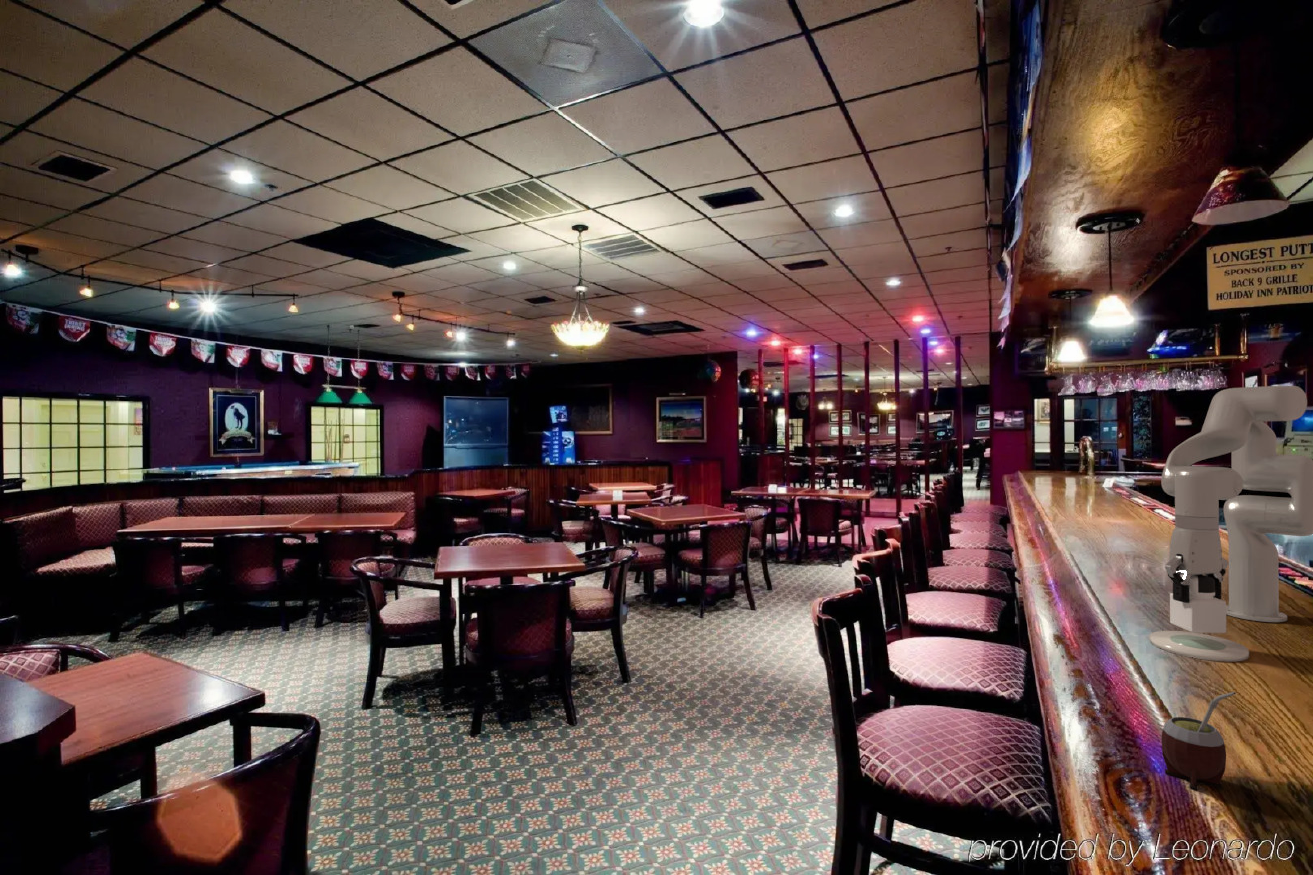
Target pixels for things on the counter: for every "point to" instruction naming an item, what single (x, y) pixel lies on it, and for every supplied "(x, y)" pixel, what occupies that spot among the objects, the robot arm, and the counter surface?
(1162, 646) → the plate
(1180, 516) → the robot arm
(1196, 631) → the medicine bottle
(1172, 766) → the mate gourd
